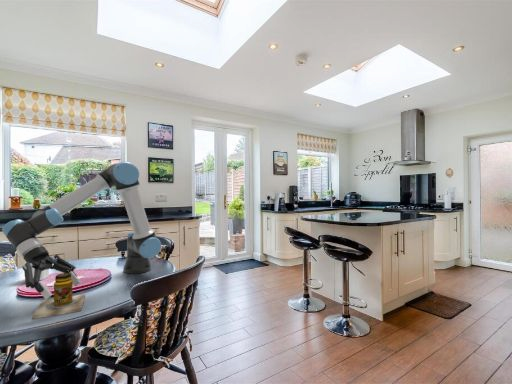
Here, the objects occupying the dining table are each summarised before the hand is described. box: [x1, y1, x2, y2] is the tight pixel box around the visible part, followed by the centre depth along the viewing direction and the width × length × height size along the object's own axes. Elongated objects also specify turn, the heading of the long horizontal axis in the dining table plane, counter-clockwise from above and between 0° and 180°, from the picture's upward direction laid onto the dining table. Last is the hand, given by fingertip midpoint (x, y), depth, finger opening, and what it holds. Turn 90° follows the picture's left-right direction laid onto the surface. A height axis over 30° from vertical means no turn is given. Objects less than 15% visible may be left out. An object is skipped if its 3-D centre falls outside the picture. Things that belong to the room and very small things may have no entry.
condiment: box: [47, 272, 77, 308], centre depth 106 cm, size 7×8×12 cm
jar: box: [32, 268, 50, 281], centre depth 138 cm, size 9×8×12 cm
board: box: [32, 293, 86, 320], centre depth 105 cm, size 15×15×1 cm
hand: (64, 290), depth 105 cm, fingers open, 13 cm apart
